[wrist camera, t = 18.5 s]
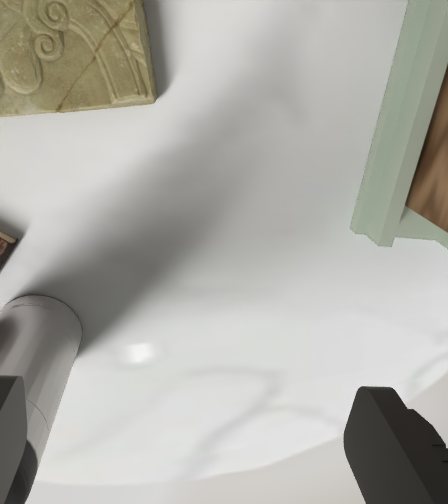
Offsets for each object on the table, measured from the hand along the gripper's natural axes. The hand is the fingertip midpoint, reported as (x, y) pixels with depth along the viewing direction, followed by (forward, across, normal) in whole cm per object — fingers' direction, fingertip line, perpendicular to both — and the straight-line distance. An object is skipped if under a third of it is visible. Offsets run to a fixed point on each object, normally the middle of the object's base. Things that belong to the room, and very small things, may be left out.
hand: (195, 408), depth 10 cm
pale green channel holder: (+34, -25, -4) cm, 42 cm away
